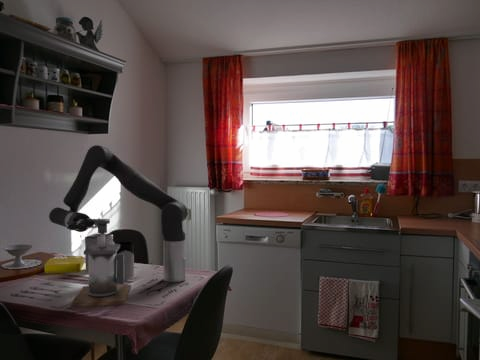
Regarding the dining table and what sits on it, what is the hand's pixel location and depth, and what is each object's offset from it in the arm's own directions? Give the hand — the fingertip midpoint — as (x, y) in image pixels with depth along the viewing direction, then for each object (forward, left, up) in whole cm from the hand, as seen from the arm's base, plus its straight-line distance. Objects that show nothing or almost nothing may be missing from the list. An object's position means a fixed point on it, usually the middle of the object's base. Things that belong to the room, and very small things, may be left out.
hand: (94, 226), depth 155 cm
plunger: (-4, +5, -8) cm, 10 cm away
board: (-4, +5, -26) cm, 27 cm away
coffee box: (+6, -34, -26) cm, 43 cm away
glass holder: (-8, -22, -26) cm, 35 cm away
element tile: (+21, -37, -26) cm, 50 cm away
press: (-5, +5, -24) cm, 25 cm away
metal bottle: (-3, -13, -26) cm, 29 cm away
